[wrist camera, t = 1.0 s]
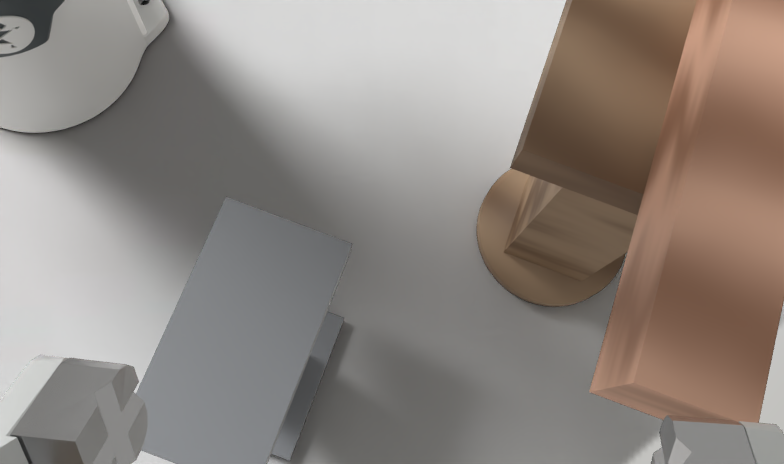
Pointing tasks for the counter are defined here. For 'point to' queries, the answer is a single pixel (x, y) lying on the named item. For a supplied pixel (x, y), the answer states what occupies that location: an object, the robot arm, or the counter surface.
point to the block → (707, 230)
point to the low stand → (245, 342)
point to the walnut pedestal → (584, 150)
